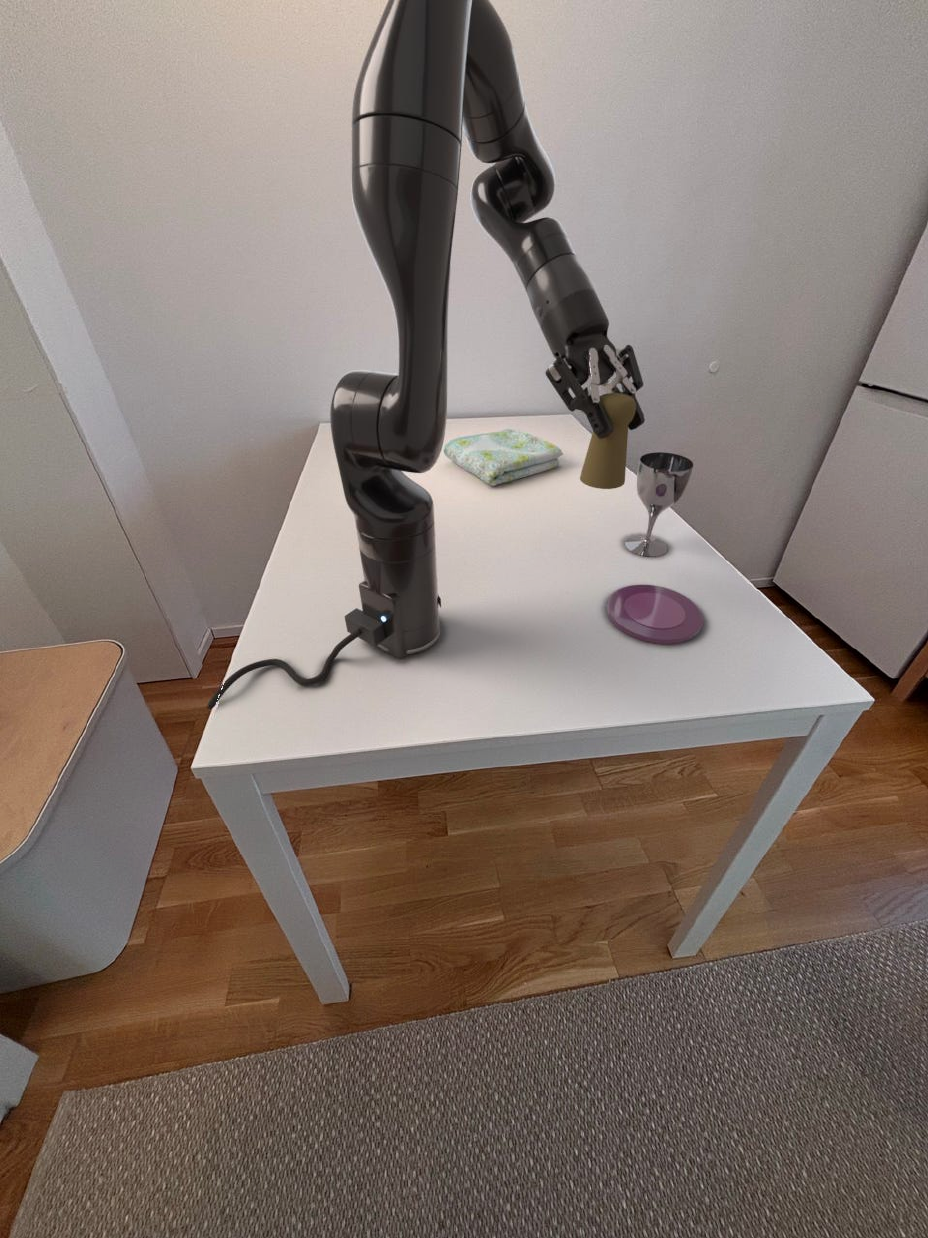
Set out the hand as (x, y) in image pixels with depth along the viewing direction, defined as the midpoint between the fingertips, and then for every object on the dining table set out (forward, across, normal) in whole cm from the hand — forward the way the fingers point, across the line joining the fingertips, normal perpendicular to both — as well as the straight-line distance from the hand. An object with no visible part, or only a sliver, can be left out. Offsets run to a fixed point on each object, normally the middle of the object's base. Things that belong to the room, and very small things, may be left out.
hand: (622, 430), depth 65 cm
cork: (+4, 0, +6) cm, 8 cm away
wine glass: (+15, +16, +19) cm, 29 cm away
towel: (-15, +20, +50) cm, 55 cm away
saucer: (+24, +2, +10) cm, 26 cm away
